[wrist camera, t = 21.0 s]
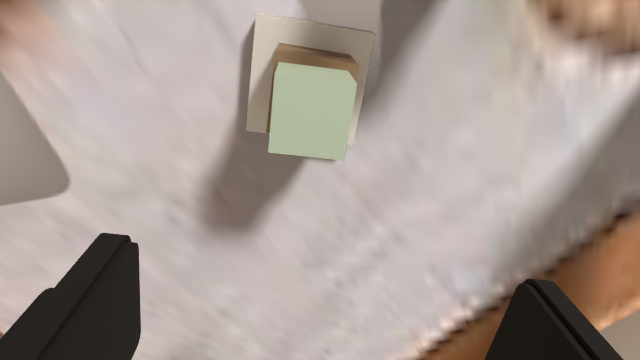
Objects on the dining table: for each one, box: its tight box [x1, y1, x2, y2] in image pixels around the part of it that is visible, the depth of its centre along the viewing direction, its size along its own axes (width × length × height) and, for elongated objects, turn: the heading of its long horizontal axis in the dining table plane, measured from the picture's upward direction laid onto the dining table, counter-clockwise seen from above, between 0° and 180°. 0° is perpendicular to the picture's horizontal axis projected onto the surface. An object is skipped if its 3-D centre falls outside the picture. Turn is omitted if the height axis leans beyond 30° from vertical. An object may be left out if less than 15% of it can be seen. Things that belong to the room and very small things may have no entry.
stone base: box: [246, 13, 376, 146], centre depth 36 cm, size 10×10×2 cm
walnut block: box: [266, 43, 359, 133], centre depth 32 cm, size 6×6×6 cm
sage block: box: [268, 62, 357, 161], centre depth 27 cm, size 5×5×5 cm
